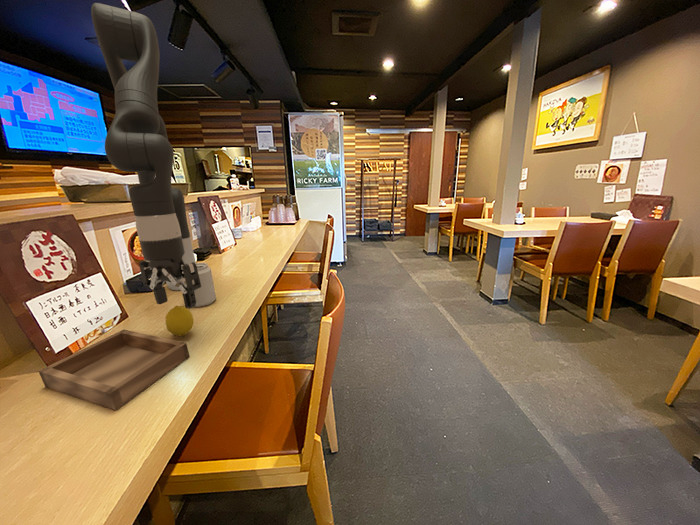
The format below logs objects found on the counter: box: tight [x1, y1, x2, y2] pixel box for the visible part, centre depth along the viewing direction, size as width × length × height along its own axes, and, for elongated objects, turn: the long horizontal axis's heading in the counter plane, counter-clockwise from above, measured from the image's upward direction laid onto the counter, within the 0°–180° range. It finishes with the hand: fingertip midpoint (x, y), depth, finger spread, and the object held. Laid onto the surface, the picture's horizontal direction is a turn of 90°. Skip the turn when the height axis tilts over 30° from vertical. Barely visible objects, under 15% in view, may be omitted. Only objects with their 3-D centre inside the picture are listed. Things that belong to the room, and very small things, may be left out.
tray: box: [38, 329, 190, 412], centre depth 53 cm, size 18×14×4 cm
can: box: [183, 262, 217, 308], centre depth 80 cm, size 8×8×12 cm
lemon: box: [165, 305, 195, 337], centre depth 64 cm, size 6×6×8 cm
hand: (176, 304), depth 62 cm, fingers open, 8 cm apart
